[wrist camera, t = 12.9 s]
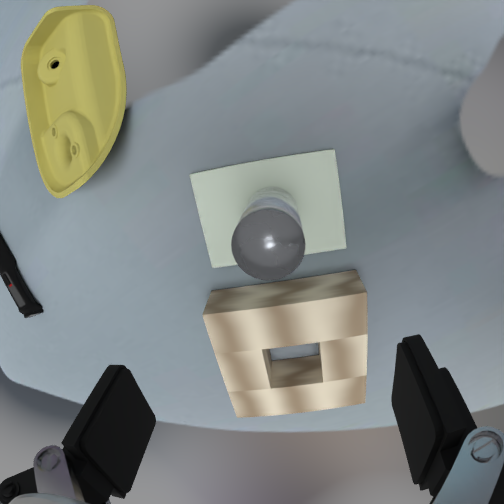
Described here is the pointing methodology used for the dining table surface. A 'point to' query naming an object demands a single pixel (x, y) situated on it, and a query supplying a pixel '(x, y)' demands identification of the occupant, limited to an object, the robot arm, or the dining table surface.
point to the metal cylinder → (269, 235)
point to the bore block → (291, 343)
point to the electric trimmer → (16, 284)
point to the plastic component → (73, 93)
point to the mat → (272, 175)
